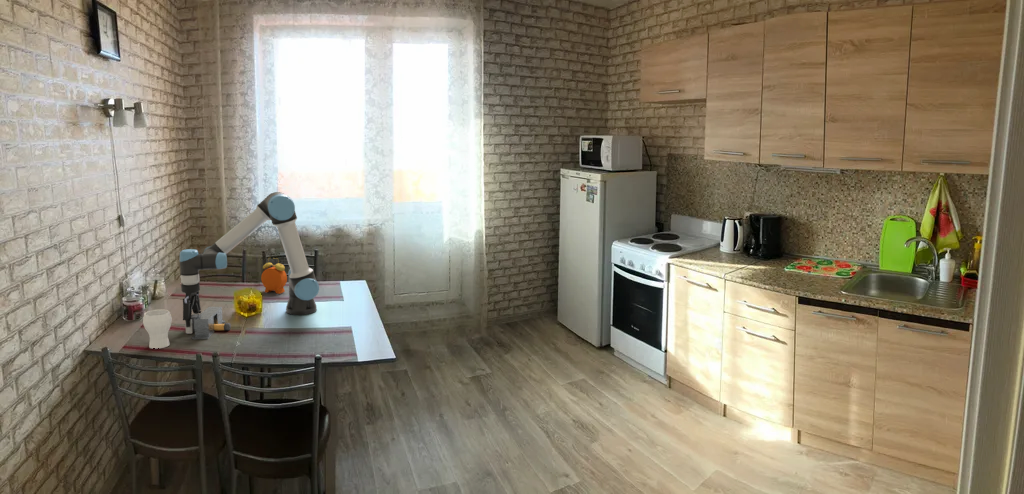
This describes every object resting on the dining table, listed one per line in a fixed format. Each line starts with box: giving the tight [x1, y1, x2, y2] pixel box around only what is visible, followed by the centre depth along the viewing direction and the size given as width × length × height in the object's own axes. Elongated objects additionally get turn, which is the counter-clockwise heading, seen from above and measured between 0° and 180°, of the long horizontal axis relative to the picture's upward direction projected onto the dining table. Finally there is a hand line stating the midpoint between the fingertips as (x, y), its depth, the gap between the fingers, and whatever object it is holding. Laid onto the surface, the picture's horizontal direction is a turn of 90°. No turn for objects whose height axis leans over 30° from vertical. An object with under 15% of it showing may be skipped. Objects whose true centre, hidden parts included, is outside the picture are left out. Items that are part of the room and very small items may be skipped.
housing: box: [191, 306, 226, 340], centre depth 285 cm, size 7×25×9 cm, turn 8°
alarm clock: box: [260, 257, 288, 295], centre depth 352 cm, size 13×6×20 cm, turn 77°
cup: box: [142, 308, 173, 350], centre depth 263 cm, size 11×11×15 cm
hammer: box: [191, 315, 232, 333], centre depth 285 cm, size 18×4×7 cm, turn 98°
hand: (192, 330), depth 285 cm, fingers open, 8 cm apart
